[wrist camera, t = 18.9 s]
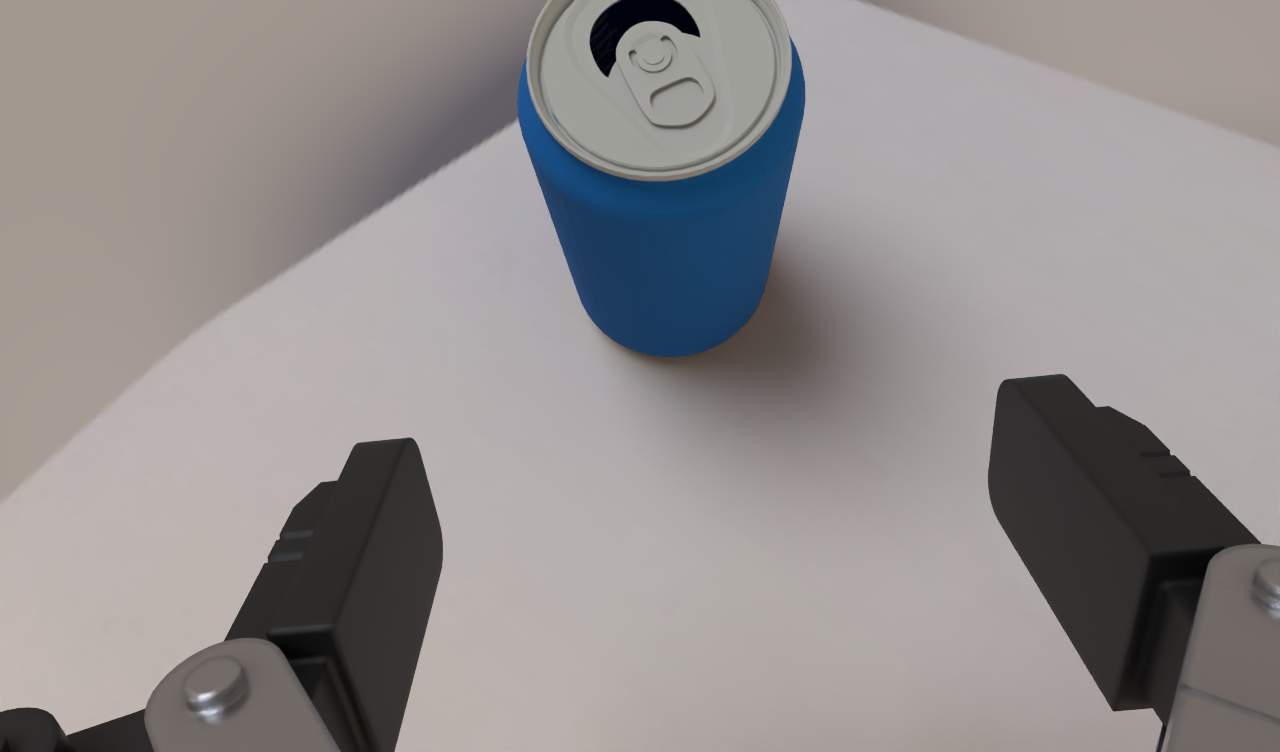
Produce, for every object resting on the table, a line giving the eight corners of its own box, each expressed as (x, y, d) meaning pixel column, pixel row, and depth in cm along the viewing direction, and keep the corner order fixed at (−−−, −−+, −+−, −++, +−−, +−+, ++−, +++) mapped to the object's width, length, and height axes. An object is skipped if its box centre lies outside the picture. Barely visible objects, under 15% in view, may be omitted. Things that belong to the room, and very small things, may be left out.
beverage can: (714, 159, 31) (727, -114, 19) (799, 314, 29) (870, 116, 18) (548, 234, 30) (459, 0, 19) (624, 395, 29) (579, 246, 17)
